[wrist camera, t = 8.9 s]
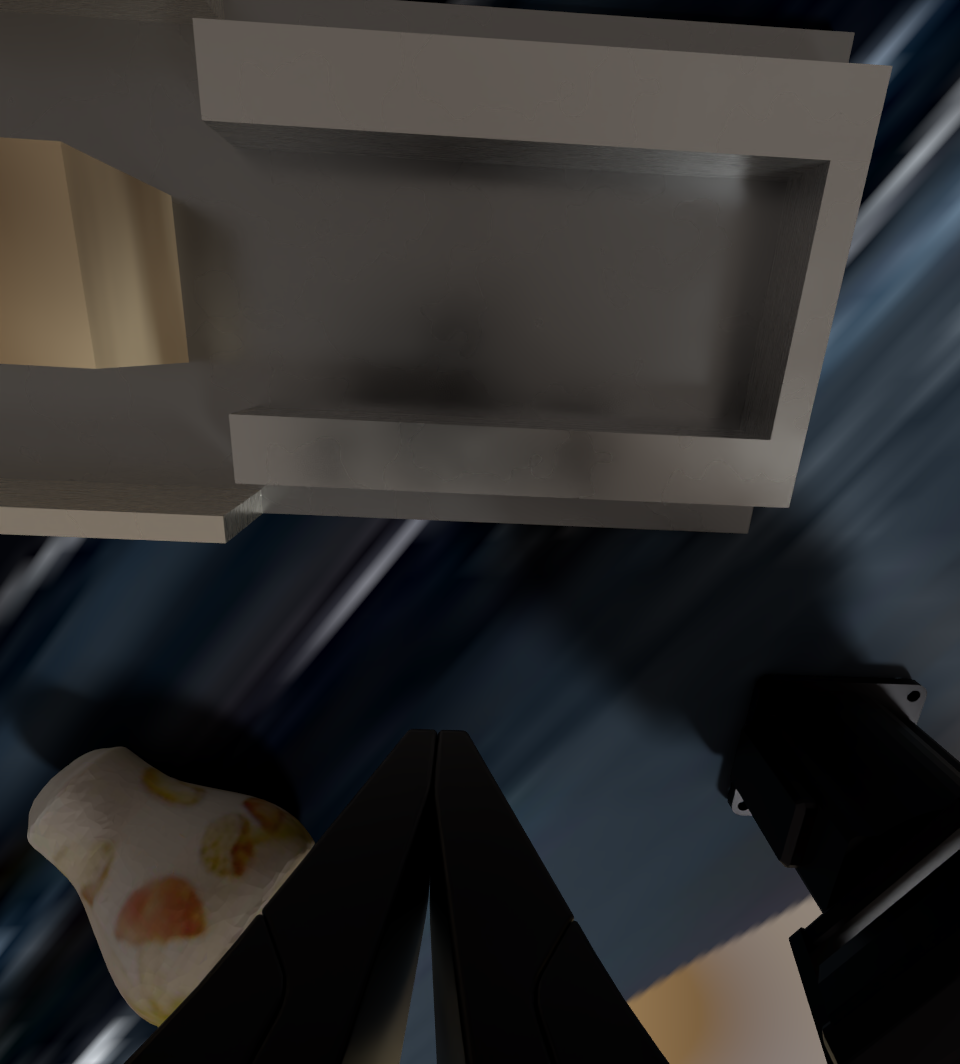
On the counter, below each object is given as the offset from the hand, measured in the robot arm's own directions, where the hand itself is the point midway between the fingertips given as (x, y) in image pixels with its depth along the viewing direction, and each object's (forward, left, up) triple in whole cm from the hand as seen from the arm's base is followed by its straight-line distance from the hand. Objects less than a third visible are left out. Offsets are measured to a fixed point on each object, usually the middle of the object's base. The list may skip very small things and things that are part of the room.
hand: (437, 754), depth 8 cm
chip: (+11, -7, -11) cm, 17 cm away
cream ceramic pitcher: (+11, +13, -12) cm, 21 cm away
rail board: (+5, -7, -12) cm, 15 cm away
